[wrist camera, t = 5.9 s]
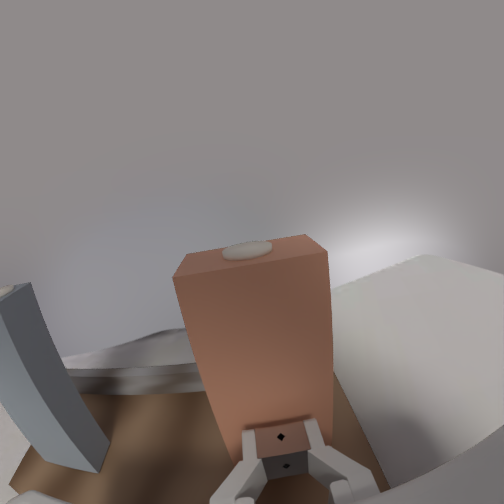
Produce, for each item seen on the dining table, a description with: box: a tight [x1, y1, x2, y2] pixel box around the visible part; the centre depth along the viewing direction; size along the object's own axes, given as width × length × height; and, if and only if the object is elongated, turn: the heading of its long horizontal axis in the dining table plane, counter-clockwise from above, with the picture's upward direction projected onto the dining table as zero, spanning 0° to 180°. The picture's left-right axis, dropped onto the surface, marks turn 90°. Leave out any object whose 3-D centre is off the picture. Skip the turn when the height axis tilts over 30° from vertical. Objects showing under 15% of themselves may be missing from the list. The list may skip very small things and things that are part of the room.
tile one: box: [173, 234, 333, 467], centre depth 12 cm, size 5×3×12 cm, turn 94°
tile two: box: [0, 282, 110, 474], centre depth 12 cm, size 5×3×12 cm, turn 94°
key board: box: [9, 363, 390, 504], centre depth 16 cm, size 24×16×4 cm, turn 94°
